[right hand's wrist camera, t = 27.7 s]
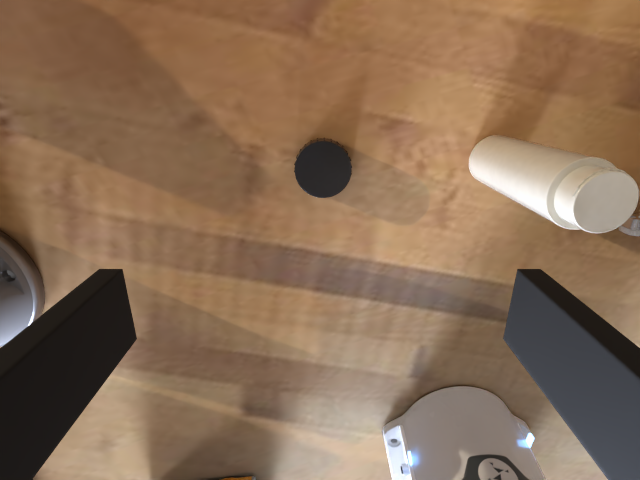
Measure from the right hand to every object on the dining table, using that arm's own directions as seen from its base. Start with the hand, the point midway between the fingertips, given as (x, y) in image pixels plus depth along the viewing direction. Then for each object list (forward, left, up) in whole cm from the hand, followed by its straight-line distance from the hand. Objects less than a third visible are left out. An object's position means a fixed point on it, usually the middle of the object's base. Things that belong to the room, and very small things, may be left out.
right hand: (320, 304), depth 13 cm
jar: (+8, -15, -26) cm, 31 cm away
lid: (0, 0, -25) cm, 25 cm away
